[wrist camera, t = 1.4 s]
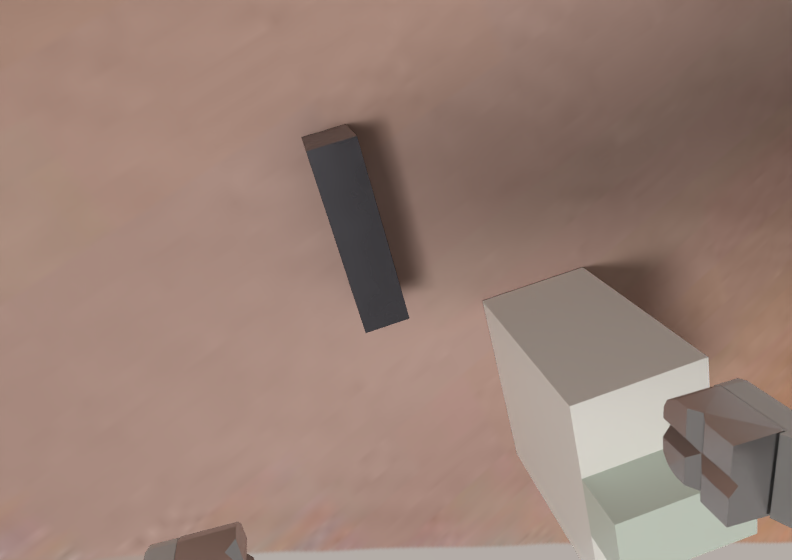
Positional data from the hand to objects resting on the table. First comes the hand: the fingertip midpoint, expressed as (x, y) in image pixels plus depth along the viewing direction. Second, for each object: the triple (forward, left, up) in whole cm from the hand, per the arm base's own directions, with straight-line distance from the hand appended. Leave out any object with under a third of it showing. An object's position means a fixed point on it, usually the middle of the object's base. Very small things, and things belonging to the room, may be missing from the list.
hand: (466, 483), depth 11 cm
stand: (-10, +16, -24) cm, 31 cm away
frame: (0, +2, -24) cm, 24 cm away
